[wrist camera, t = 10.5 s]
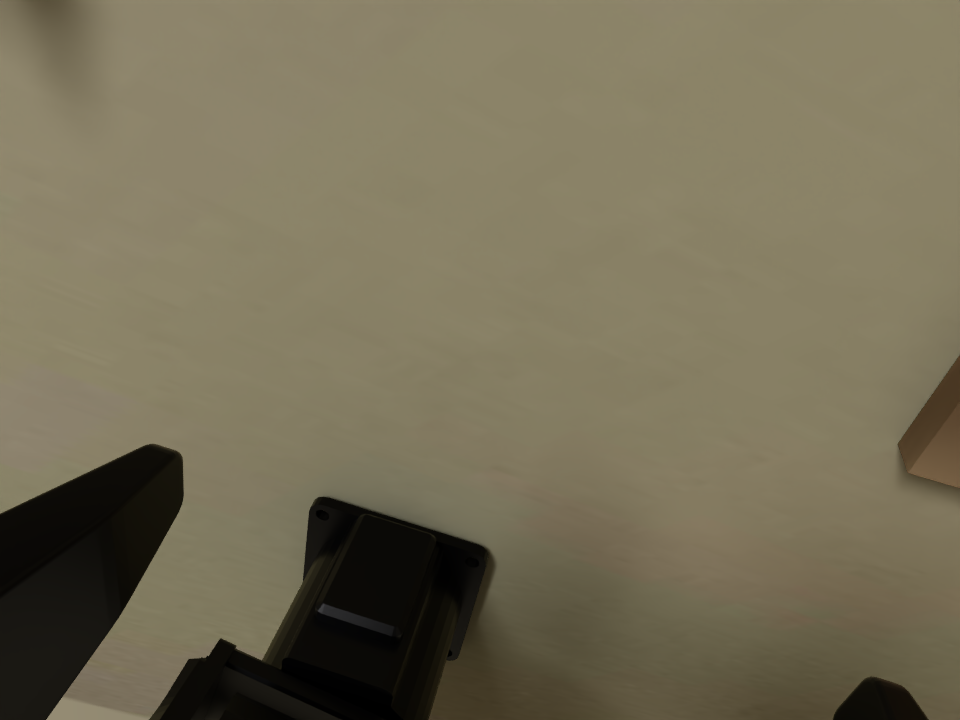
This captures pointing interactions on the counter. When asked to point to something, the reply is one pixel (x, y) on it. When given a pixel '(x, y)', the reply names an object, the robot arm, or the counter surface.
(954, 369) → the plate
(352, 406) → the counter surface
